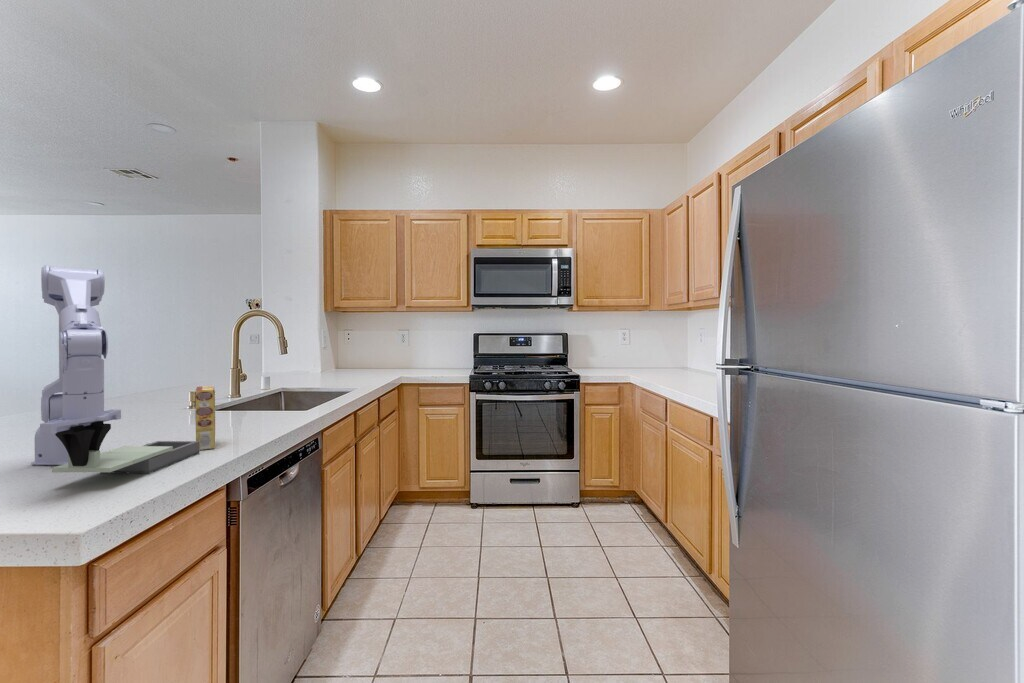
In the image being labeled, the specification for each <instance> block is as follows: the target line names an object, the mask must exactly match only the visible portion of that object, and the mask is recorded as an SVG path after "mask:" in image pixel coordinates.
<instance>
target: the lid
mask: <svg viewBox="0 0 1024 683" xmlns="http://www.w3.org/2000/svg"><path fill="white" fill-rule="evenodd" d="M171 450H173V446H143V445H135V446H134V445H123V446H120V447H117V448H113V449H110V450H107V451H104V452H101V450H99V451H93V450H89V457H88V463H87V465H86V466H73V465H72V462H71V460H70V457H69V454H68V463H67V464H63V465H56V466H53V467H52V468H51V469H52V471H51V472H52V473H100V472H112V471H115V470H118V469H121V468H124V467H126V466H129V465H132V464H135V463H138V462H140V461H143V460H146V459H149V458H152V457H154V456H157V455H160V454H163V453H166V452H169V451H171Z"/></svg>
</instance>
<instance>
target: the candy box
mask: <svg viewBox="0 0 1024 683" xmlns="http://www.w3.org/2000/svg"><path fill="white" fill-rule="evenodd" d="M215 392H216V391H215V385H209V386H208V385H207V386H205V385H204V386H196V389H195V441H199V451H204V450H213V449H215V447H216V396H215V395H216V394H215Z"/></svg>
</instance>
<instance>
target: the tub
mask: <svg viewBox="0 0 1024 683" xmlns="http://www.w3.org/2000/svg"><path fill="white" fill-rule="evenodd" d="M142 446H173V450H171V451H169V452H166V453H163V454H160V455H157V456H154V457H152V458H149V459H146V460H143V461H140V462H138V463H135V464H132V465H129V466H126V467H124V468H121V469H118V470H115V471H112V472H99V474H135V475H136V473H137V475H138V474H140V473H141V474H146V475H147V474H148V475H149V474H151V473H153V472H156V471H159V470H161V469H163V468H167V467H168V466H171V465H174V464H176V463H179V462H182V461H184V460H186V459H190V458H191V457H194V456H197V455H200V450H199V441H196V440H195V441H193V440H185V441H183V440H156V441H154V442H151V443H148V444H144V445H142Z"/></svg>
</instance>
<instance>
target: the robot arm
mask: <svg viewBox="0 0 1024 683" xmlns="http://www.w3.org/2000/svg"><path fill="white" fill-rule="evenodd" d="M40 276H41V277H40V278H41V284H40V285H41V295H42V296H41V297H42V299H43V303H45V304H48V305H51V306H54V308H55V310H56V312H57V314H58V378H57V379H56V380H55V381H52V382H51V383H49V384H47V385H45V386H44V387H43V389H42V390H41V398H40V399H41V400H40V405H41V406H40V413H41V414H40V415H41V416H40V419H41V421H42V422H40V423H39V427H38V428H37V429H36V430H35V434H34V461H33V462H30V465H32V466H46V465H47V466H60V465H63V464H67V463H68V454H69V457H70V460H71V462H72V465H73V466H86V465H87V463H88V457H89V450H93V451H100V448H101V446H102V444H103V441H104V440H105V437H106V436H107V435H108V433H109V432H110V430H111V429H112V423H104V422H109V421H113V420H114V421H116V420H117V421H118V420H121V419H122V409H107V410H105V359H107V356H108V351H109V338H108V334H107V330H106V329H105V327H104V326H102V323H101V318H100V314H99V311H98V310H97V309H96V308H95V306H99V305H100V302H101V301H102V299H103V297H104V295H105V284H106V283H105V282H106V281H105V274H104V272H103V271H102V270H101V269H100V268H99V269H88V268H81V267H80V268H79V267H78V268H77V267H68V266H66V267H65V266H64V267H63V266H56V265H55V266H53V265H50V266H49V265H48V264H45V265H44V266H41V275H40ZM102 356H103V357H102Z"/></svg>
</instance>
